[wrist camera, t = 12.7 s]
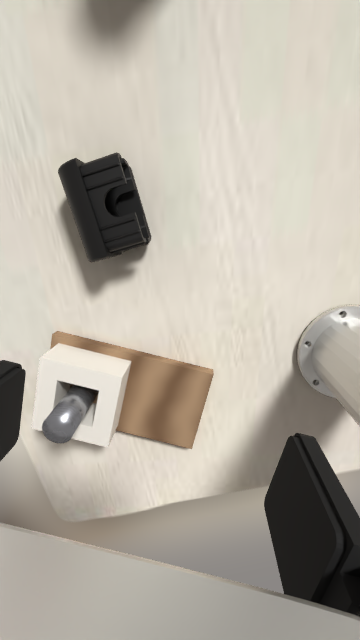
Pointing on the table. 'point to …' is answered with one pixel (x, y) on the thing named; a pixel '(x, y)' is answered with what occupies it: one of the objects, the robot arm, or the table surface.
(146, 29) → the table surface
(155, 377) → the board
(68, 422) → the peg
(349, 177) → the table surface
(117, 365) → the socket
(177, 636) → the robot arm
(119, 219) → the end cap
